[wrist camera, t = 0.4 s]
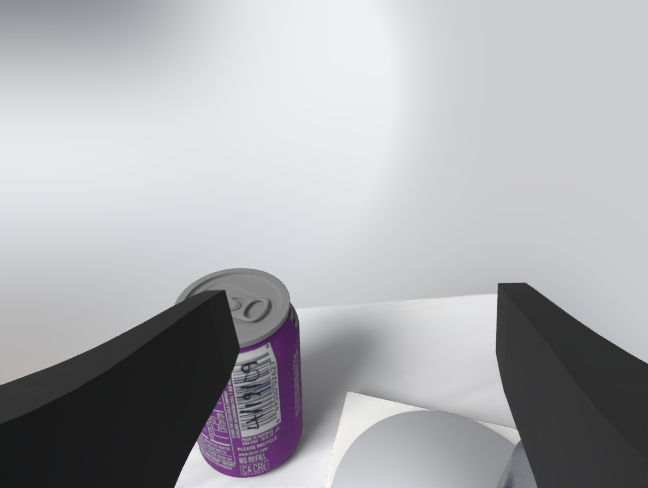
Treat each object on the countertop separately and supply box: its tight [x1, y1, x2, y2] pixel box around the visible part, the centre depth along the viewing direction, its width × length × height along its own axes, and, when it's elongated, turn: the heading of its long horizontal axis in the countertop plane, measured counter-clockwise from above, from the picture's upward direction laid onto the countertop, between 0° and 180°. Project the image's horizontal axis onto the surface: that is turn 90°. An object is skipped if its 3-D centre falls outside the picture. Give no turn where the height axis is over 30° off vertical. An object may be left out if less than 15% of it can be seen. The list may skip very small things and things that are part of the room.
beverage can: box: [175, 268, 302, 478], centre depth 26 cm, size 7×7×12 cm
